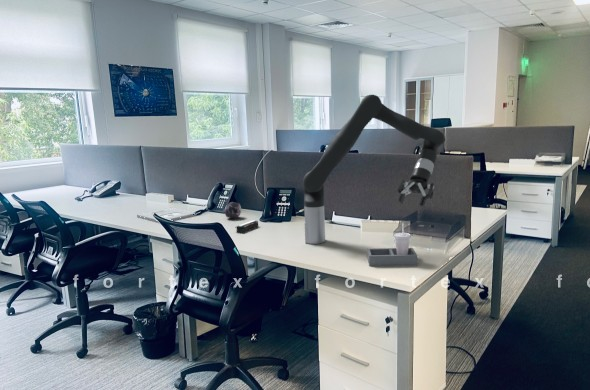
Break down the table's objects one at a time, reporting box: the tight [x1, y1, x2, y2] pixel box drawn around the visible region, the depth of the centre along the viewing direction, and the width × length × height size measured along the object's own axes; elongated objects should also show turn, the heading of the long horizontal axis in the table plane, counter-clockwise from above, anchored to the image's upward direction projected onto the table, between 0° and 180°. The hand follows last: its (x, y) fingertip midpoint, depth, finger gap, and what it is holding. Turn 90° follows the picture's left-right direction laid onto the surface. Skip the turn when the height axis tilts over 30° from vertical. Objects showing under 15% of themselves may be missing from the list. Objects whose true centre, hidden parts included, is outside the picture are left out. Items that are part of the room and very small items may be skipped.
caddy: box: [366, 247, 418, 267], centre depth 167 cm, size 18×10×4 cm, turn 85°
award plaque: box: [136, 207, 198, 224], centre depth 269 cm, size 25×30×2 cm
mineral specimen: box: [224, 201, 242, 219], centre depth 254 cm, size 10×10×10 cm
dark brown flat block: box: [234, 219, 259, 234], centre depth 228 cm, size 14×25×4 cm, turn 149°
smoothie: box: [393, 222, 411, 255], centre depth 166 cm, size 6×6×14 cm
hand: (410, 204), depth 173 cm, fingers open, 8 cm apart
